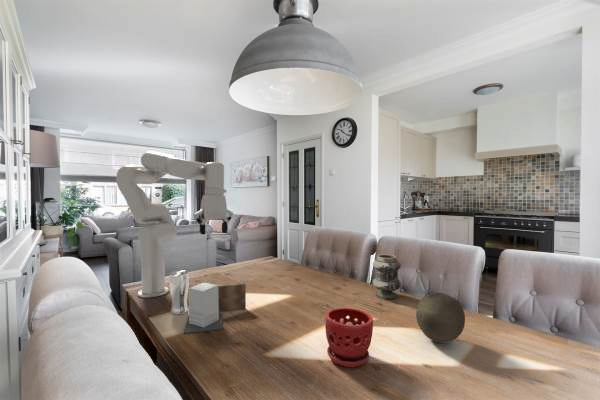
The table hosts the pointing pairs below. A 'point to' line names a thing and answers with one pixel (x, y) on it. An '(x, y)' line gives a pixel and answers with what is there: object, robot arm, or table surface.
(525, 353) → the table surface
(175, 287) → the metal tumbler
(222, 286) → the wood grain panel
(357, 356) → the plant pot
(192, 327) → the mat
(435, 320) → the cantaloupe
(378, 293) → the apothecary jar
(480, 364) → the table surface
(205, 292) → the supplement box
